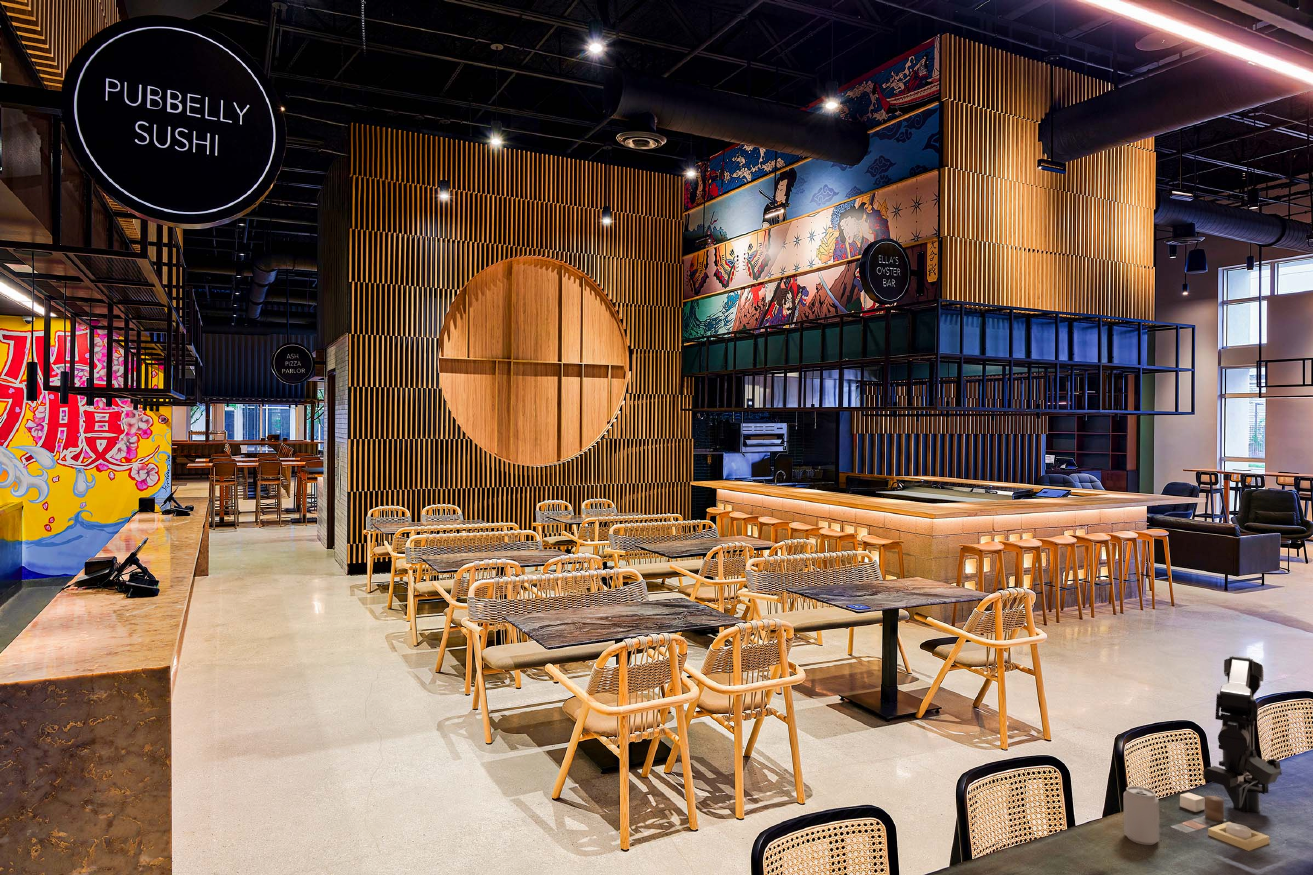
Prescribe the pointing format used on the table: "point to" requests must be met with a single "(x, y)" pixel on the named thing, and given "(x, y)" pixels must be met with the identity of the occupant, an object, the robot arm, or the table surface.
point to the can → (1141, 815)
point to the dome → (1238, 830)
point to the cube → (1192, 802)
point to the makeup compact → (1194, 824)
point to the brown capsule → (1214, 808)
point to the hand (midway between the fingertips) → (1237, 806)
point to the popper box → (1248, 844)
